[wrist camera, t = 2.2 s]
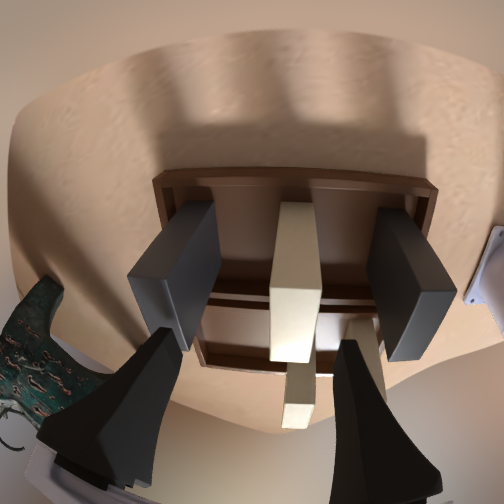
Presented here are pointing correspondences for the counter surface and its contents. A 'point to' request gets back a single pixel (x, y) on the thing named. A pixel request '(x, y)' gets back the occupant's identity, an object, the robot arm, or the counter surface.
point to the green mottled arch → (39, 361)
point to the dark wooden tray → (267, 215)
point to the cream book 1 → (294, 284)
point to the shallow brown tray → (268, 335)
